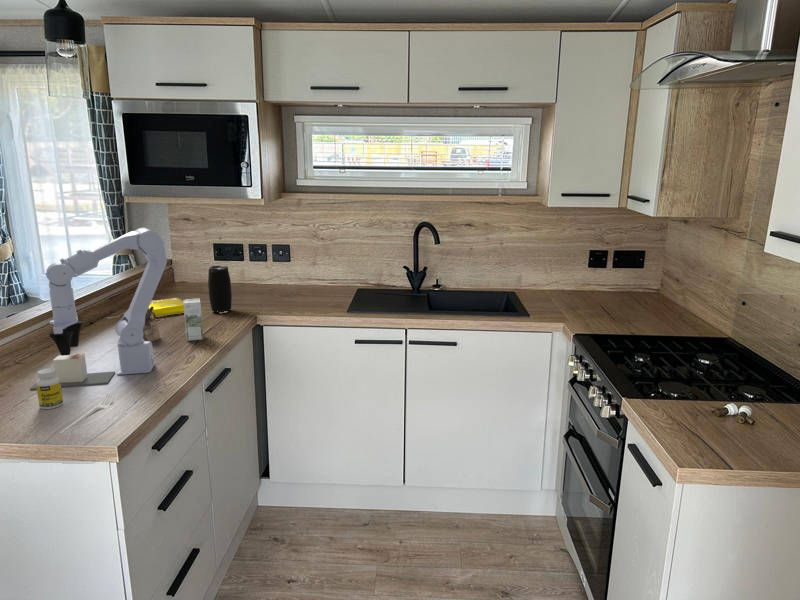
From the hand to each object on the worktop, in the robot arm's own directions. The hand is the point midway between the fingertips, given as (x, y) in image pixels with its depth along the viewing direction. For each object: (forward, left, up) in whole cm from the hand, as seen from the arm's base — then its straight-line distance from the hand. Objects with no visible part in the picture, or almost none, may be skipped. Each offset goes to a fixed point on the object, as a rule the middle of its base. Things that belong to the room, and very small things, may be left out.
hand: (69, 350), depth 164 cm
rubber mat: (0, 0, -9) cm, 9 cm away
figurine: (-14, -38, -10) cm, 42 cm away
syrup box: (-30, -35, -10) cm, 47 cm away
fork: (-10, +26, -10) cm, 30 cm away
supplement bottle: (+1, +17, -10) cm, 20 cm away
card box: (0, 0, -9) cm, 9 cm away
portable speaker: (-37, -72, -10) cm, 82 cm away
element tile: (-14, -77, -10) cm, 79 cm away
